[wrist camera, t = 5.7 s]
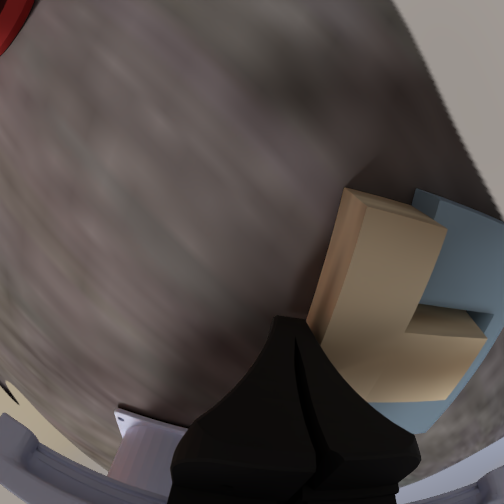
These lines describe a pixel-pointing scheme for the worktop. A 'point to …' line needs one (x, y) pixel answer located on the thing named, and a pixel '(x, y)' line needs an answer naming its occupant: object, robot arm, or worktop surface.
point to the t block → (389, 305)
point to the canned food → (12, 20)
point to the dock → (458, 292)
